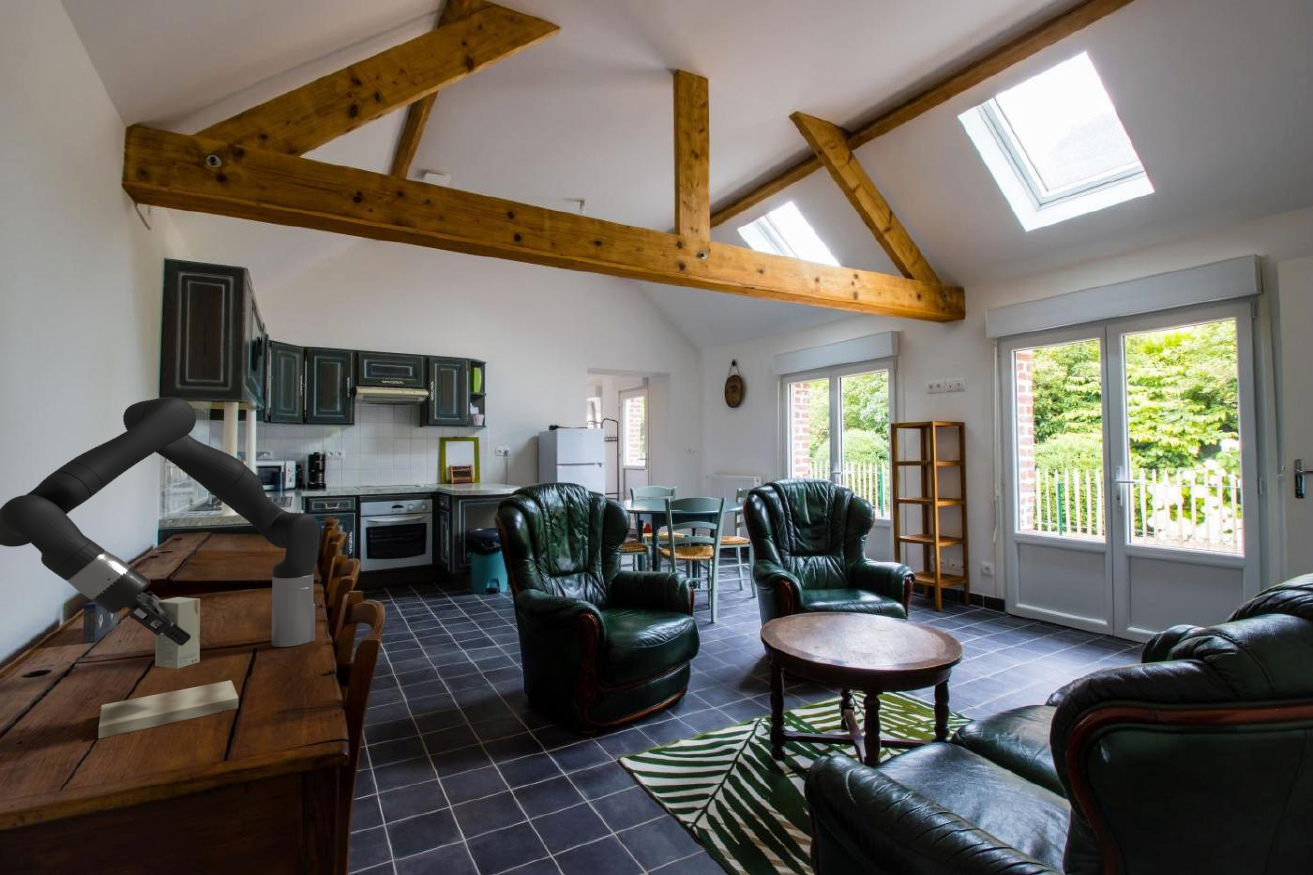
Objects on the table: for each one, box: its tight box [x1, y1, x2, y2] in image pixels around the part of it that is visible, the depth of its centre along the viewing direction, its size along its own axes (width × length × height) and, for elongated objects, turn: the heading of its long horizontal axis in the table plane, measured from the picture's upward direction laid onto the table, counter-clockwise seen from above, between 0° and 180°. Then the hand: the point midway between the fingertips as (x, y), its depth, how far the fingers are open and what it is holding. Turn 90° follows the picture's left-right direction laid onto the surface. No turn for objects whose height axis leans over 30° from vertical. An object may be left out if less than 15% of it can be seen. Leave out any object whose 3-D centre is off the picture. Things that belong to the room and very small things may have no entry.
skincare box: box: [154, 596, 201, 670], centre depth 119 cm, size 6×4×12 cm
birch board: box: [98, 680, 239, 739], centre depth 118 cm, size 20×12×2 cm, turn 130°
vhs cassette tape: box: [82, 600, 119, 644], centre depth 168 cm, size 18×3×10 cm, turn 25°
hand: (187, 636), depth 120 cm, fingers closed on skincare box, 7 cm apart
